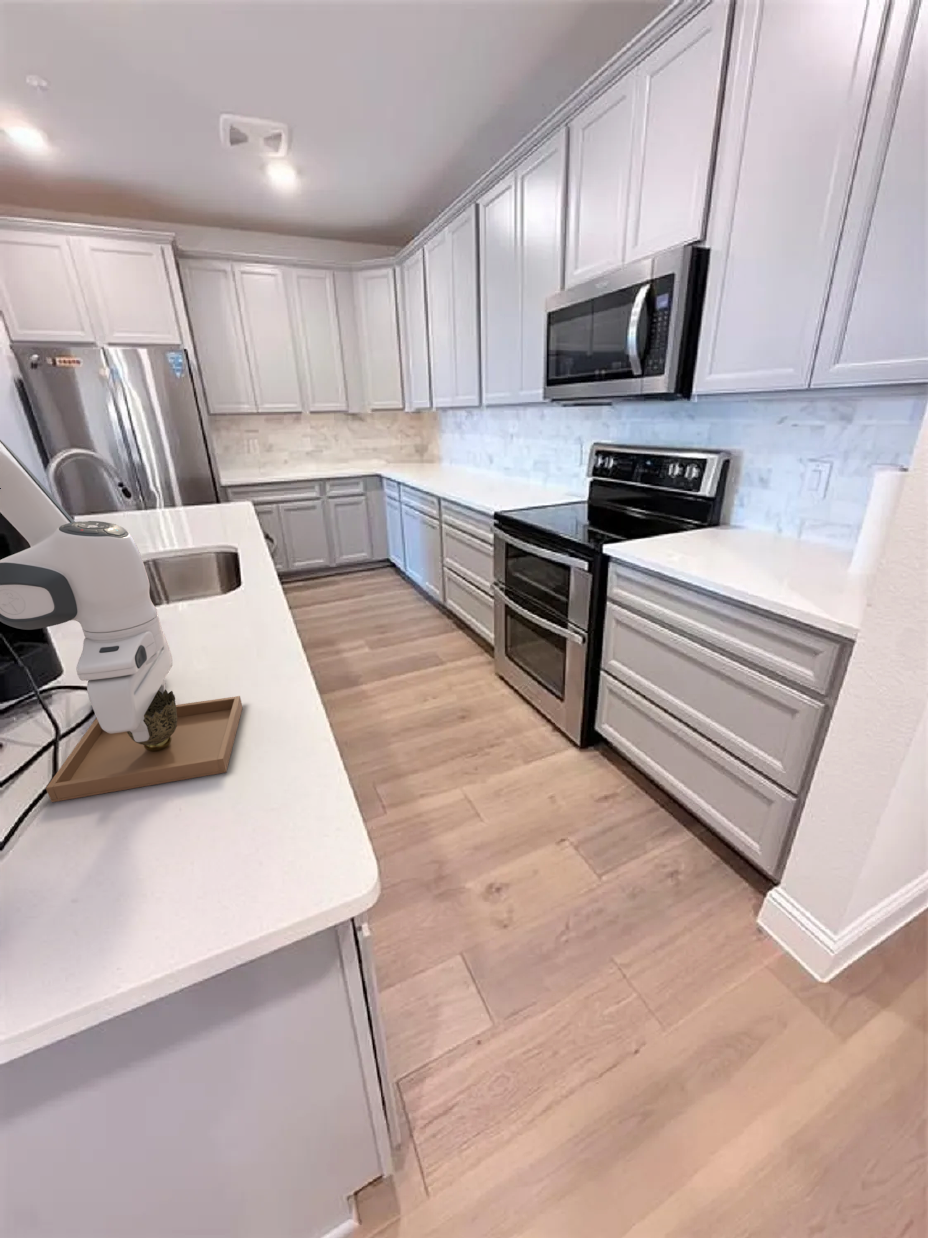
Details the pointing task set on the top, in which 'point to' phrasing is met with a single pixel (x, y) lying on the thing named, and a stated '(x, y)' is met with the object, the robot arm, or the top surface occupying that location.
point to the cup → (160, 721)
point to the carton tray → (151, 753)
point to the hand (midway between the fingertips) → (152, 722)
